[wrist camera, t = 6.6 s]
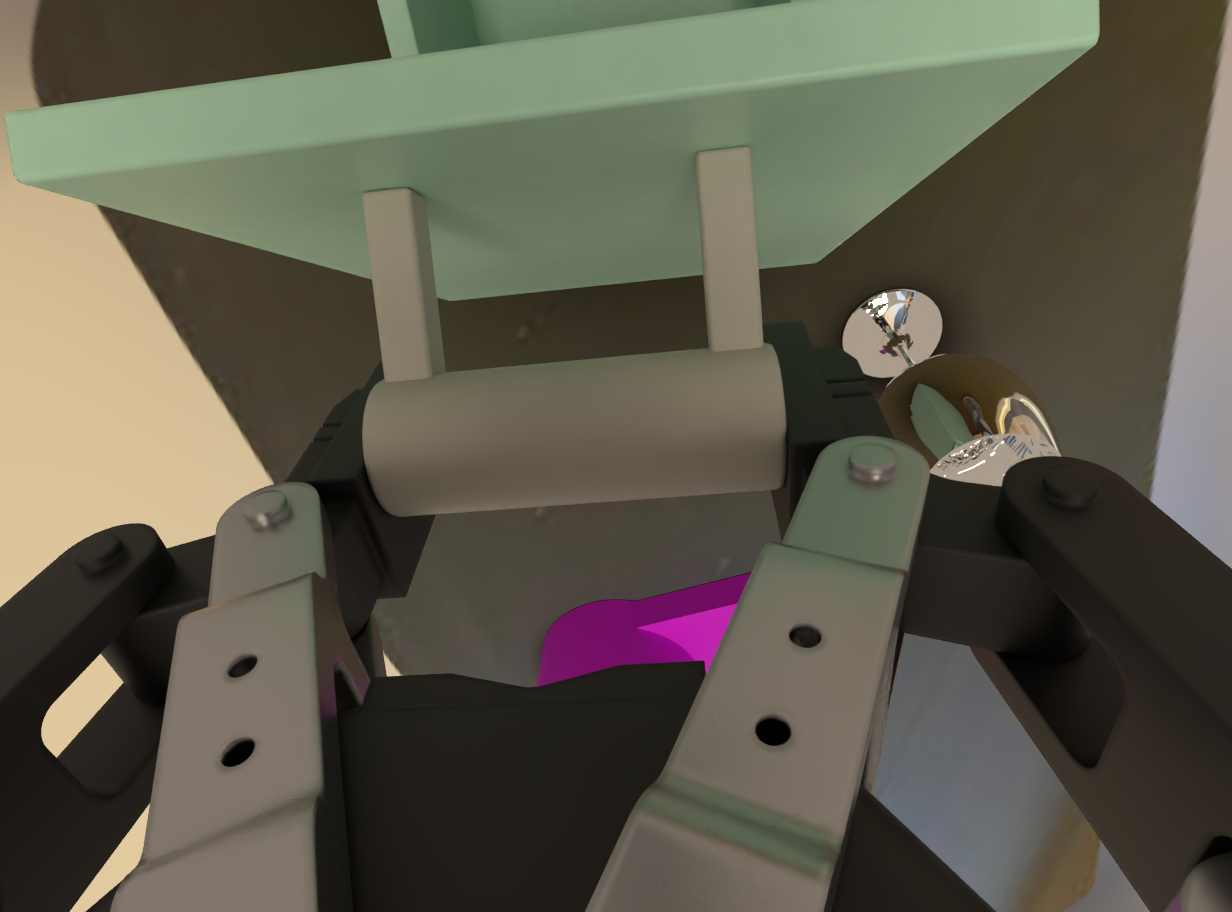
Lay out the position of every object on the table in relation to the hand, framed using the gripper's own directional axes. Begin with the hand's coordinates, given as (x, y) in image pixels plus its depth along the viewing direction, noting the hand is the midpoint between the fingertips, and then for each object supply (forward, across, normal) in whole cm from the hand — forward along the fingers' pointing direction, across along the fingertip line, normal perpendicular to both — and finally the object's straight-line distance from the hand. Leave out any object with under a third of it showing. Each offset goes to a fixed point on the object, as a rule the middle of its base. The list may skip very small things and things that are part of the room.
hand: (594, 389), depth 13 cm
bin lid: (+4, 0, -2) cm, 5 cm away
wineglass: (+20, -11, +10) cm, 25 cm away
